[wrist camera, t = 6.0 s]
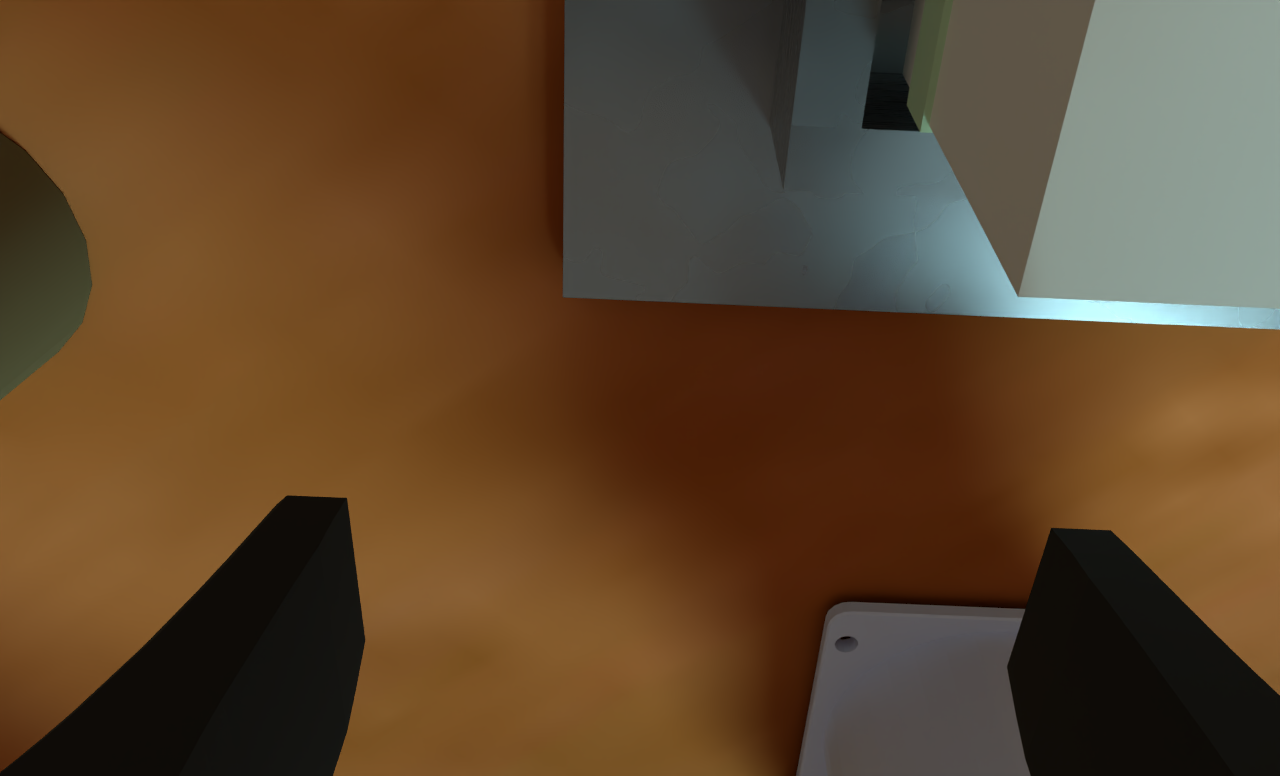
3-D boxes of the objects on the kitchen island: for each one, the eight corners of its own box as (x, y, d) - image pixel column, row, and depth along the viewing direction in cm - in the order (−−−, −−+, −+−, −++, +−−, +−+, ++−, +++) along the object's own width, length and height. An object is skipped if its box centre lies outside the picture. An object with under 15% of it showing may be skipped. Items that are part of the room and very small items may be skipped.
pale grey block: (1182, 93, 17) (1430, 324, 11) (894, 80, 17) (1004, 305, 11) (1285, -233, 14) (1659, -138, 9) (950, -249, 14) (1125, -164, 9)
